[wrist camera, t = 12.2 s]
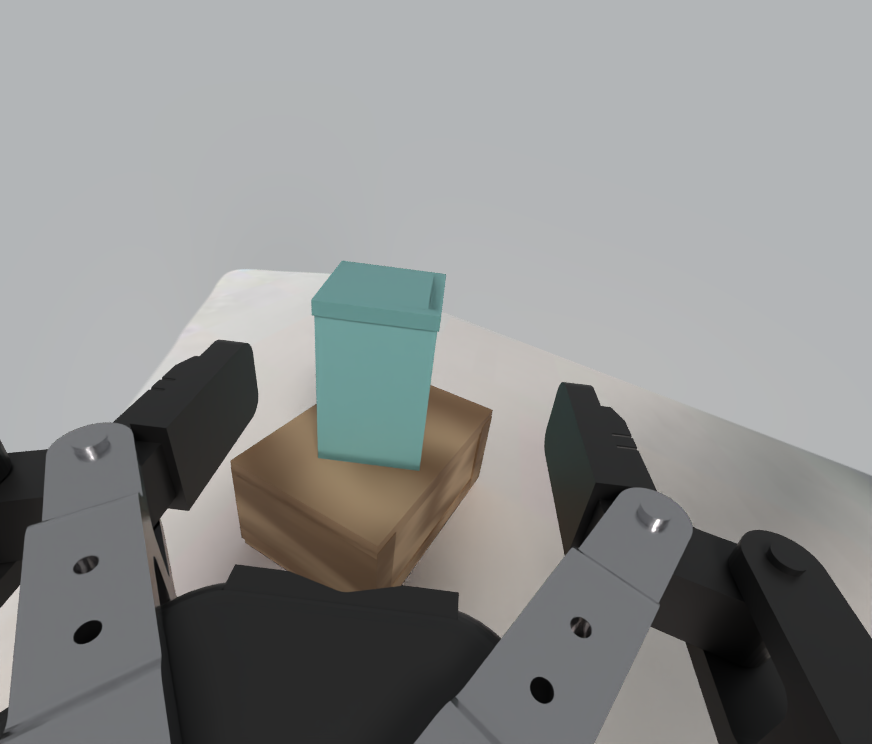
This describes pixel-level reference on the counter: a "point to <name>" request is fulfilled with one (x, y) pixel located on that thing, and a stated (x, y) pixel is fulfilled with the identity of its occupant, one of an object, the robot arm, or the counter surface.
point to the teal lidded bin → (375, 362)
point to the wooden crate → (356, 498)
